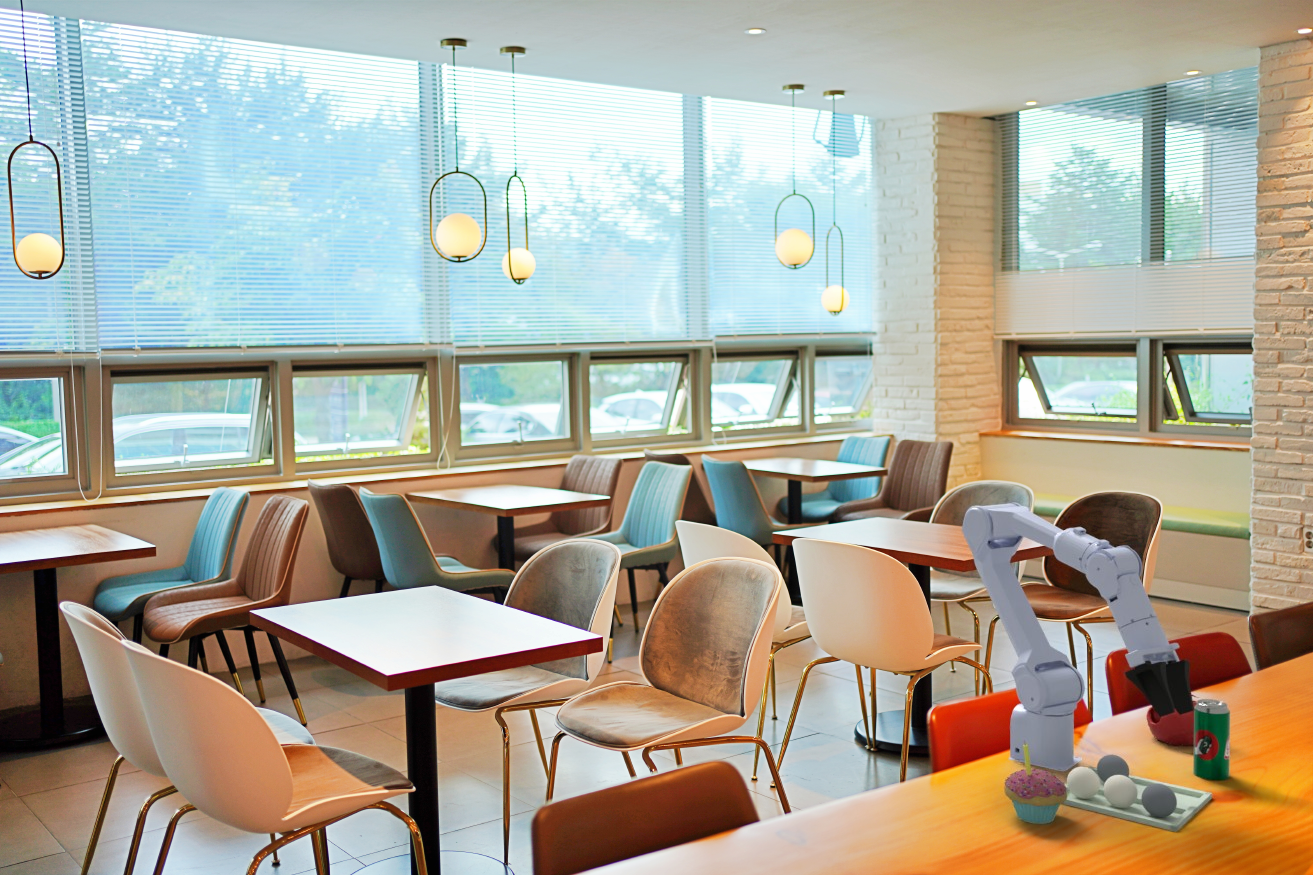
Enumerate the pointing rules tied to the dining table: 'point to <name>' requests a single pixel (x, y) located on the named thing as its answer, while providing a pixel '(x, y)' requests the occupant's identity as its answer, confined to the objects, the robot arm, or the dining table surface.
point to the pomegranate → (1172, 727)
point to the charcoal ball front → (1159, 800)
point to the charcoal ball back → (1112, 767)
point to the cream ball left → (1083, 782)
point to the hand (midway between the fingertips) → (1177, 713)
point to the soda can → (1211, 740)
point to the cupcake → (1035, 793)
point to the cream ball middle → (1120, 791)
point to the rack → (1185, 809)
